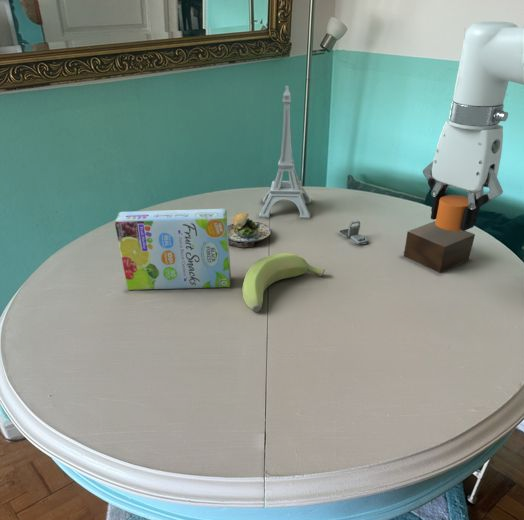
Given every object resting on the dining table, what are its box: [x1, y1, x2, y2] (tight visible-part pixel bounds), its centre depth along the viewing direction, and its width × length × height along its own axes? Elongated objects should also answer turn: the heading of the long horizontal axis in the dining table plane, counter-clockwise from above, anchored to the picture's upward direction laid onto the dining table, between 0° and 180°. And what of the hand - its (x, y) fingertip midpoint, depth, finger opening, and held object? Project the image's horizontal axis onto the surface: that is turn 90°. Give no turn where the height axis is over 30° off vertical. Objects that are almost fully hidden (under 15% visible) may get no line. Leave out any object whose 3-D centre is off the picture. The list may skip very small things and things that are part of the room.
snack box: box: [114, 208, 232, 291], centre depth 104 cm, size 21×6×15 cm, turn 91°
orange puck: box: [434, 194, 468, 231], centre depth 91 cm, size 6×6×4 cm
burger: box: [227, 212, 272, 249], centre depth 124 cm, size 12×12×8 cm
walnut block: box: [403, 220, 476, 273], centre depth 114 cm, size 10×10×6 cm
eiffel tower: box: [258, 85, 312, 220], centre depth 132 cm, size 13×13×30 cm
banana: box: [242, 252, 326, 313], centre depth 105 cm, size 14×6×20 cm
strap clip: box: [339, 220, 369, 246], centre depth 123 cm, size 8×3×4 cm, turn 26°
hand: (451, 222), depth 93 cm, fingers closed on orange puck, 5 cm apart
